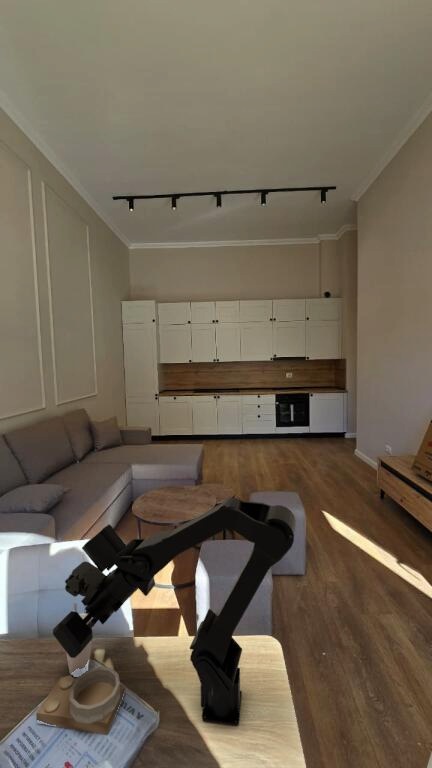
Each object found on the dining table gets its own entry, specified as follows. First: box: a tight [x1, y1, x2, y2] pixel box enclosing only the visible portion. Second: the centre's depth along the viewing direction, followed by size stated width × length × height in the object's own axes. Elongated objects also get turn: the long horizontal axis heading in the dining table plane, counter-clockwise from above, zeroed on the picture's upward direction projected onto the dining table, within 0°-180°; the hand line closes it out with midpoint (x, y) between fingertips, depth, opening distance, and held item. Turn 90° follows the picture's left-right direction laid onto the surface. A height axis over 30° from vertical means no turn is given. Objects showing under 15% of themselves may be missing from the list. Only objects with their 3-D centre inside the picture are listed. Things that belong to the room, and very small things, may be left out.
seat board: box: [35, 666, 126, 735], centre depth 65 cm, size 13×8×4 cm, turn 81°
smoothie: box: [65, 602, 95, 675], centre depth 73 cm, size 6×6×14 cm
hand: (72, 631), depth 73 cm, fingers closed on smoothie, 6 cm apart
